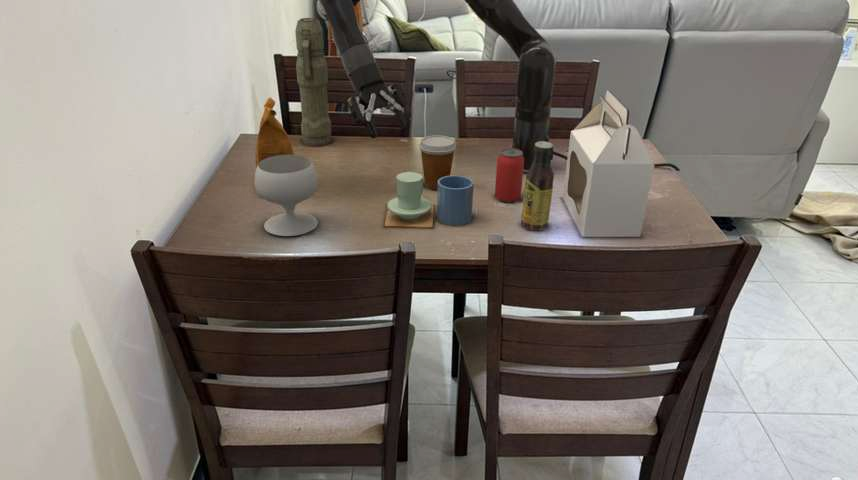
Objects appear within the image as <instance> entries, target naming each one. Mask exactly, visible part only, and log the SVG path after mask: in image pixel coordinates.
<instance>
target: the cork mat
mask: <svg viewBox="0 0 858 480" xmlns="http://www.w3.org/2000/svg"><path fill="white" fill-rule="evenodd" d="M434 206H435V205H434V204H432V208H431V210H430V211H429V212H428V213H426V214H423V215H420V217H418V218H416V219H403V218H401V217H399V215H396V214H394V213H392V212H390V211H389V210H388V209H387V211H386V217H385V222H384V228H404V229H405V228H407V229H433V227H434V224H433V223H434V208H435V207H434Z"/></svg>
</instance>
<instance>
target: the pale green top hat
mask: <svg viewBox="0 0 858 480" xmlns="http://www.w3.org/2000/svg"><path fill="white" fill-rule="evenodd" d="M395 178H396V179H395V180H396V195H397V197H394V198H392V199H390V200H389V201H388V202H387V205H386V207H387V211H388V210H389V211H390V212H392V213H394V214H396V215H399V217H401V218H403V219H416V218H418V217H420V215H423V214H426V213H428V212H429V211H430V210H431V208H432V205H433V203H432V202H431V201H430V200H429V199H427V198H425V197H422V195H423V184H424V183H423V181H424V176H423V174H421V173H419V172H413V171H406V172H405V171H404V172H400V173H398V174H397V175H396V177H395Z"/></svg>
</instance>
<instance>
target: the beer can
mask: <svg viewBox="0 0 858 480" xmlns="http://www.w3.org/2000/svg"><path fill="white" fill-rule="evenodd" d="M523 168H524V157H523V152H522V151H521V150H518V149H514V148H512V147H507V148H503V149H501V150H499V154H498V156H497V160H496V171H495V184H494V185H495V186H494V196H495V198H496V199H497V200H499V201H501V202H505V203H513V202H516V201H519V200H520V199H521V198H522V189H523V188H522V187H523V176H524V173H523Z"/></svg>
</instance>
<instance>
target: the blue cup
mask: <svg viewBox="0 0 858 480" xmlns="http://www.w3.org/2000/svg"><path fill="white" fill-rule="evenodd" d="M436 195H437V196H436V219H437V220H438V222H439V223H440V222H441V224H445V225H449V226H462V225H466V224H468V223H470V222H471V220H472V218H473V202H474V201H473V200H474V180H473V179H471V178H469V177H468V176H465V175H455V174H454V175H453V174H452V175H451V174H450V176H445V177H442V178H440V179H439V180H438V190H437V194H436Z"/></svg>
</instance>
